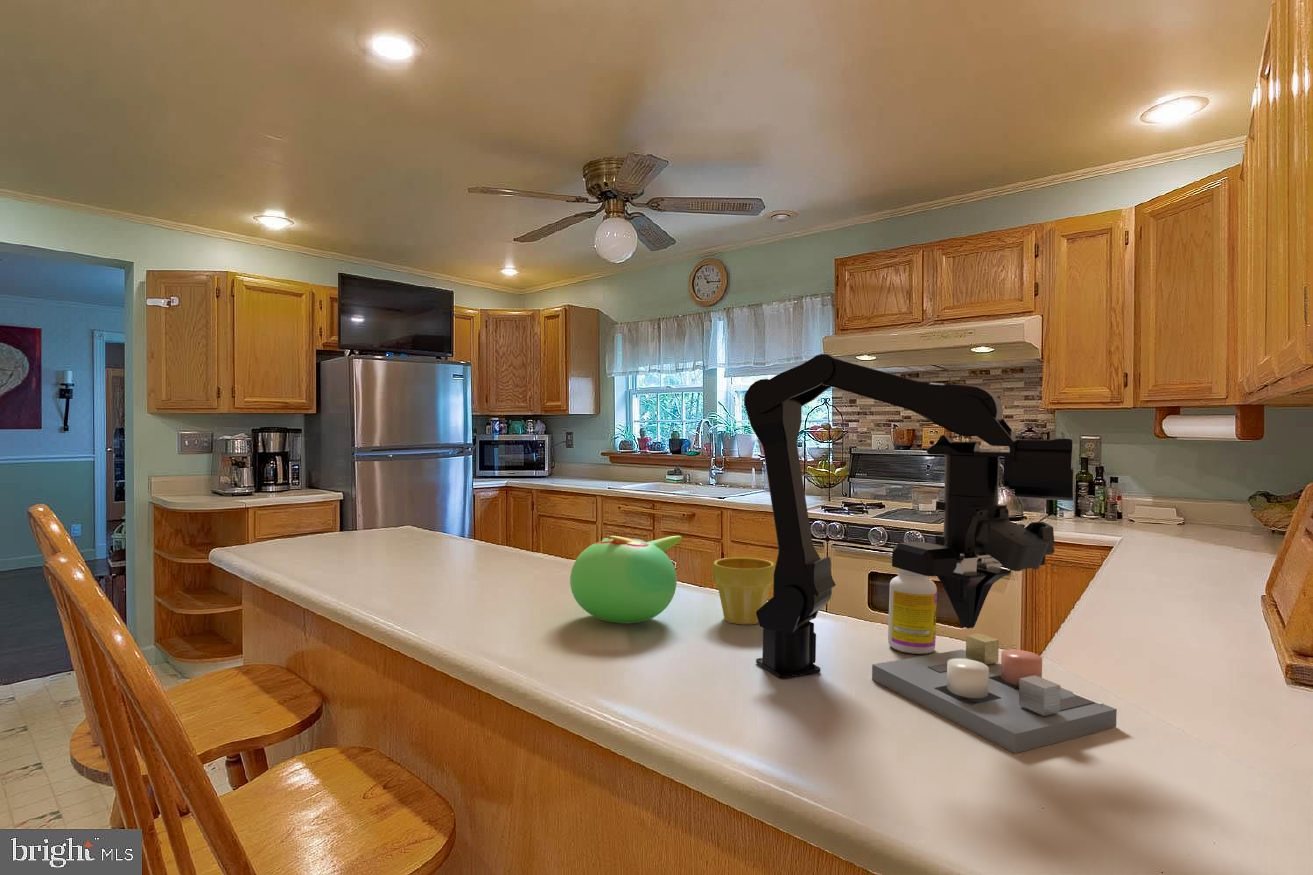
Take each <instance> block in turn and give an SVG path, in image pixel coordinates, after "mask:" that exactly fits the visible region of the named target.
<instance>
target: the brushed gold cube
mask: <svg viewBox="0 0 1313 875" xmlns="http://www.w3.org/2000/svg"><path fill="white" fill-rule="evenodd" d="M999 642H1000V640H999V639H997V638H995V637H991V636H988V635H986V634H983V633H972V634H967V635H965V651H966V658H968V659H971V660H975V661H978V662H981V663H983V664H985V665H987V664H993V663H999V650H1000V649H999V648H1000V647H999V645H1000V644H999Z"/></svg>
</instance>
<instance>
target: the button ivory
mask: <svg viewBox="0 0 1313 875" xmlns="http://www.w3.org/2000/svg"><path fill="white" fill-rule="evenodd" d="M988 679H989V667H988V666H987V665H985V664H983V663H981V662H978V661H975V660H970V659H961V658H956V659H950V660H948V661H947V689H948V690H949V691H950V692H952V693H954V694H956V695H959V696H963V697H968V698H984V697H986V696H988Z"/></svg>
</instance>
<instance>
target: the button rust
mask: <svg viewBox="0 0 1313 875" xmlns="http://www.w3.org/2000/svg"><path fill="white" fill-rule="evenodd" d="M1000 657H1001V658H1000V659H1001V660H1000V664H1001V678H1002V679H1003V680H1005V681H1007V682H1009V683H1012V684H1015V685H1019V679H1020V678H1024V677H1029V676H1034V675H1035V676H1038V677H1041V678H1043V657H1042V656H1040V655H1039V654H1037V653H1035V652H1032V651H1027V650H1022V649H1013V648H1010V649H1009V648H1008V649H1003V650H1002V651H1001V655H1000Z"/></svg>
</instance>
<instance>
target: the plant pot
mask: <svg viewBox="0 0 1313 875" xmlns="http://www.w3.org/2000/svg"><path fill="white" fill-rule="evenodd" d="M774 570H775V564H774V562H773V561H771V560H766V559H763V558H756V557H755V558H754V557H724V558H719V559H716V560H714V562H713V570H712V571H713V582H714V583H715V584H716V585H717V589H718V590H717V591H718V593H719V595H718V596H719V599H720V605H721V609H722V613H723V619H724V620H725V621H727V622H728V623H731V624H735V625H746V626H747V625H748V626H749V625H758V624H759V622H758V618H757V615H756V611H757V610H758V609H760V608H761V607H762V606H763V605H764V604H765V603H767V602H768V599H769V594H770V589H771V586H772V585H773V579H774Z"/></svg>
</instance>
